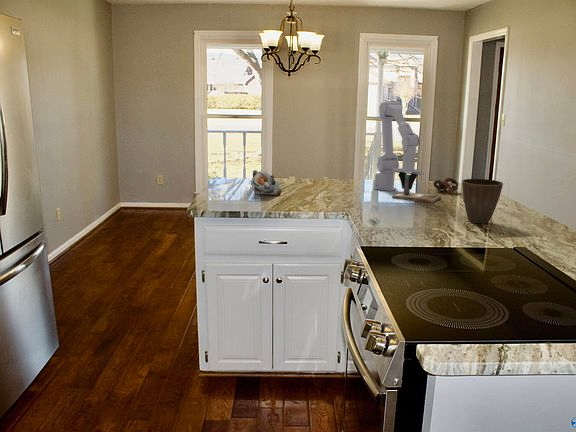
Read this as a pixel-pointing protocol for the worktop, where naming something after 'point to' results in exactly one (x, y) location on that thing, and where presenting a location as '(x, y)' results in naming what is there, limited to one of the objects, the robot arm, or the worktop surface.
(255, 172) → the grey piece
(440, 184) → the reddish-brown lumpy part
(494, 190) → the plant pot
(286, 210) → the worktop surface
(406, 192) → the marker
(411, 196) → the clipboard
